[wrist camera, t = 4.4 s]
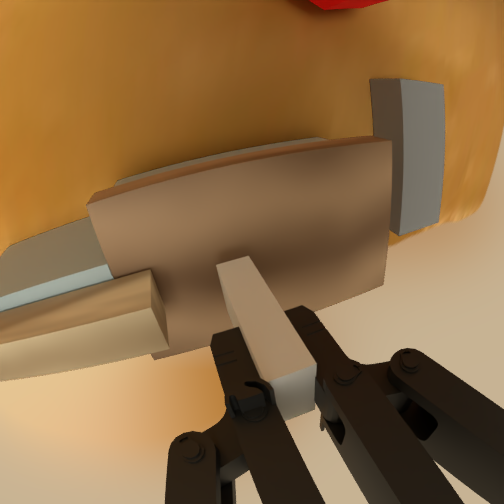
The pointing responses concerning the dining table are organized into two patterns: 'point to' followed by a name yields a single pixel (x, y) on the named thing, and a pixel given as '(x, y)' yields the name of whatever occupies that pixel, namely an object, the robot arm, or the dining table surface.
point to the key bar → (84, 328)
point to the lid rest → (412, 148)
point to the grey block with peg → (52, 265)
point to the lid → (253, 229)
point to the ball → (344, 3)
